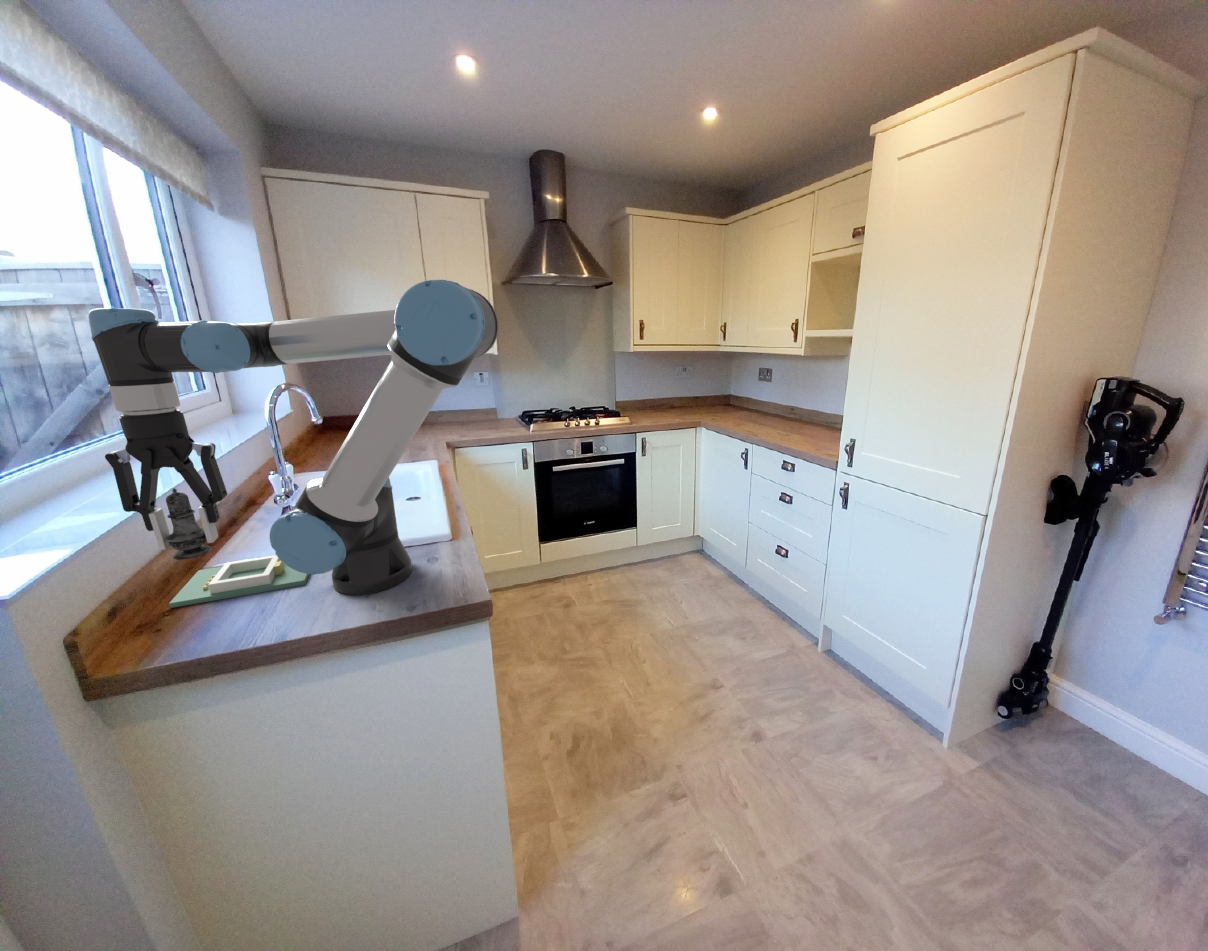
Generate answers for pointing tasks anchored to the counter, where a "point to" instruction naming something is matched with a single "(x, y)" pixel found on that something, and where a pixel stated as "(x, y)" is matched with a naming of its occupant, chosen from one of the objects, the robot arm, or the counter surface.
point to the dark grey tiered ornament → (185, 528)
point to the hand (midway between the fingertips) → (190, 542)
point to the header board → (238, 580)
